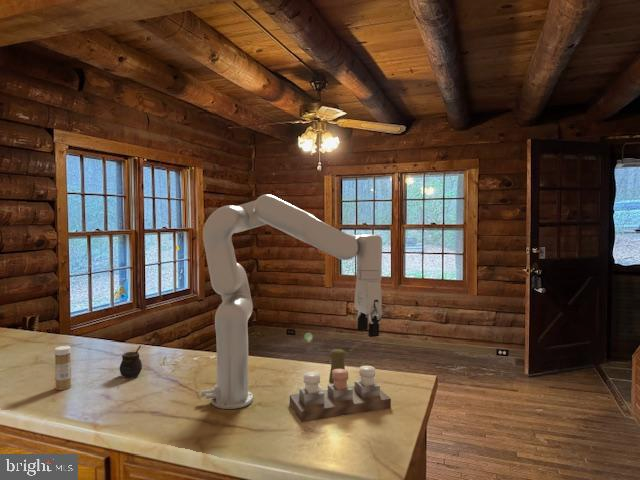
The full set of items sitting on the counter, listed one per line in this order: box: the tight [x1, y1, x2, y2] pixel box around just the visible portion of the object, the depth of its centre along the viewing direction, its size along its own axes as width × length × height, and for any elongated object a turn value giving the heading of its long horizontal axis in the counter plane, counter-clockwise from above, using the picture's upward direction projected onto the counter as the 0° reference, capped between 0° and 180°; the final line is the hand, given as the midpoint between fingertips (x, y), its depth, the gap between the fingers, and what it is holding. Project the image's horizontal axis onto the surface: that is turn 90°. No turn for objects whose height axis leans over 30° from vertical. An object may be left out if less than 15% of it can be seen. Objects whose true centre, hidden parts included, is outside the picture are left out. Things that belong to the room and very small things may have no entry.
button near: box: [303, 371, 321, 394], centre depth 126 cm, size 5×5×5 cm
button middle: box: [332, 368, 349, 390], centre depth 129 cm, size 5×5×5 cm
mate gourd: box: [119, 345, 143, 379], centre depth 152 cm, size 7×8×10 cm
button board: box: [289, 379, 392, 423], centre depth 129 cm, size 28×12×6 cm, turn 110°
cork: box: [328, 348, 346, 384], centre depth 149 cm, size 6×6×11 cm
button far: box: [358, 365, 376, 386], centre depth 132 cm, size 5×5×5 cm
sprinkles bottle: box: [53, 345, 72, 391], centre depth 140 cm, size 5×5×13 cm
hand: (368, 332), depth 131 cm, fingers open, 6 cm apart
